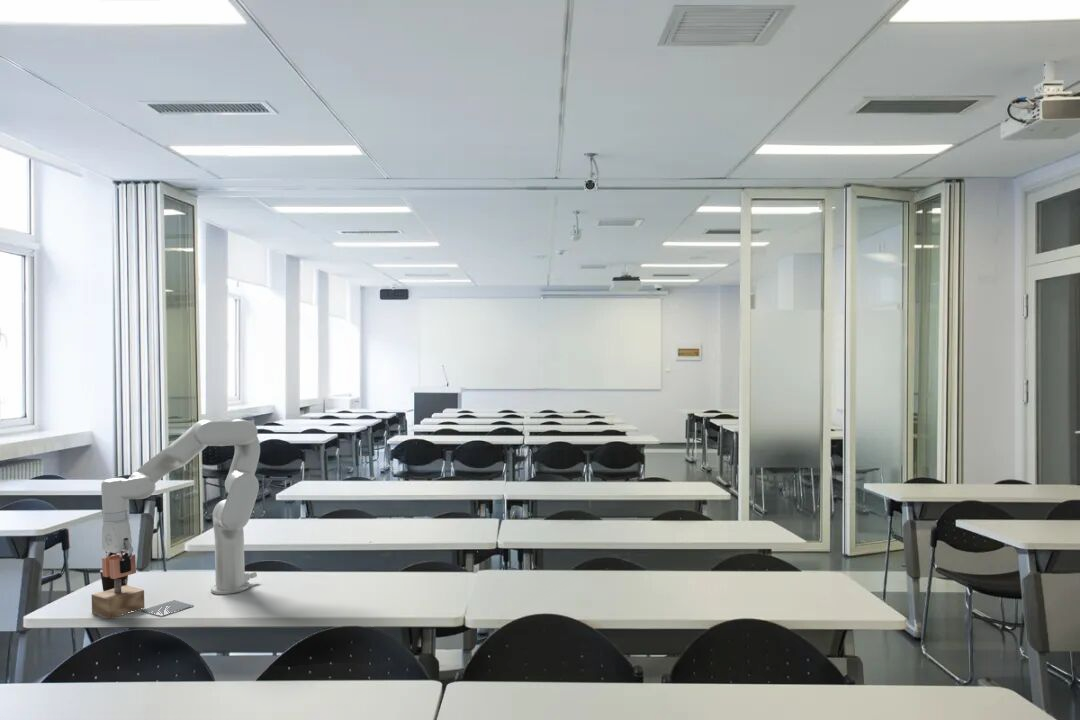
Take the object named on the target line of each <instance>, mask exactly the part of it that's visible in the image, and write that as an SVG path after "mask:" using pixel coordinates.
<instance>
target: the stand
mask: <svg viewBox="0 0 1080 720" xmlns="http://www.w3.org/2000/svg"><path fill="white" fill-rule="evenodd" d="M141 608H144V609H145V590H144V589H141V588H137V587H134V586H130V585H128V584H127V585H125V586H121V579H117V580H114V589H110V590H106V591H103V590H102V591H99V592H95V593H93V594H92V593H91V614H93V613H94V615H96V616H100V617H103V618H107V619H109V620H110V619H113V618H114V617H115V618H118V617H120V615H121V616H123V615H122V614H124V615H126V614H125V613H128V612H131V611H134V612H136V611H135V610H137V611H139V610H138V609H141ZM141 610H142V609H141ZM131 613H132V612H131ZM128 614H129V613H128ZM117 616H118V617H117Z"/></svg>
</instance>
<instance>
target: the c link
mask: <svg viewBox="0 0 1080 720" xmlns="http://www.w3.org/2000/svg"><path fill="white" fill-rule="evenodd" d="M124 554H125V553H123V556H124ZM120 561H121V559H120V555H119V553H117V554H115V555H111V556H107V557H106V556H104V557H101V566H102V567H101V568H102V569H101V570H102V571H103V576H104V577H109V576H110V578H112V579H116V578H120V577H124V576H127V575H128V576H131V575H135V574H136V573H137V565H136V561H137V560H136V554H134V553H132V555H131V571H129V572H126V573H120Z"/></svg>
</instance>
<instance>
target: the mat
mask: <svg viewBox="0 0 1080 720" xmlns="http://www.w3.org/2000/svg"><path fill="white" fill-rule="evenodd" d="M166 606H168V607H169V606H170V607H169V608H168V607H167V608H168V609H167V608H166ZM191 606H193V607H194V604H190V603H186V602H182V601H179V600H174V599H173V600H170V601H167V602H163V603H159V604H158V605H154V606H150V607H148V608H144V609H141V612H143V611H146V612H150V613H151V612H152V611H153V612H152V613H153V614H154V613H155V614H156V613H157V612H159V611H160V612H161V613H162V614H163V615H164V610H165V608H166V609H167V610H168V611H169V612H170V613H171V612H174V611H178V610H181V609H184V610H186V609H185V608H187V609H189V608H188V607H191ZM161 607H162V608H161ZM160 608H161V609H160ZM191 608H192V607H191ZM159 609H160V610H159ZM158 610H159V611H158ZM167 610H166V611H167ZM168 611H167V612H168ZM181 611H182V610H181ZM146 612H145V613H146ZM160 612H159V613H160ZM169 612H168V613H169ZM178 612H179V611H178ZM161 613H160V614H161ZM153 614H152V615H153Z"/></svg>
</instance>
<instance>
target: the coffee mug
mask: <svg viewBox="0 0 1080 720" xmlns="http://www.w3.org/2000/svg"><path fill="white" fill-rule="evenodd" d="M99 573H100V578H101V579H100V580H101V584H102V585H101V586H102V592H103V591H106V590H110V589H114V580H117V579H121V586H125V585H127V586H128V581H129V575H127V576H124V577H120V578H116V579H112V578H110V576H109V577H104V576H103V571H102V569H100V570H99Z"/></svg>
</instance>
